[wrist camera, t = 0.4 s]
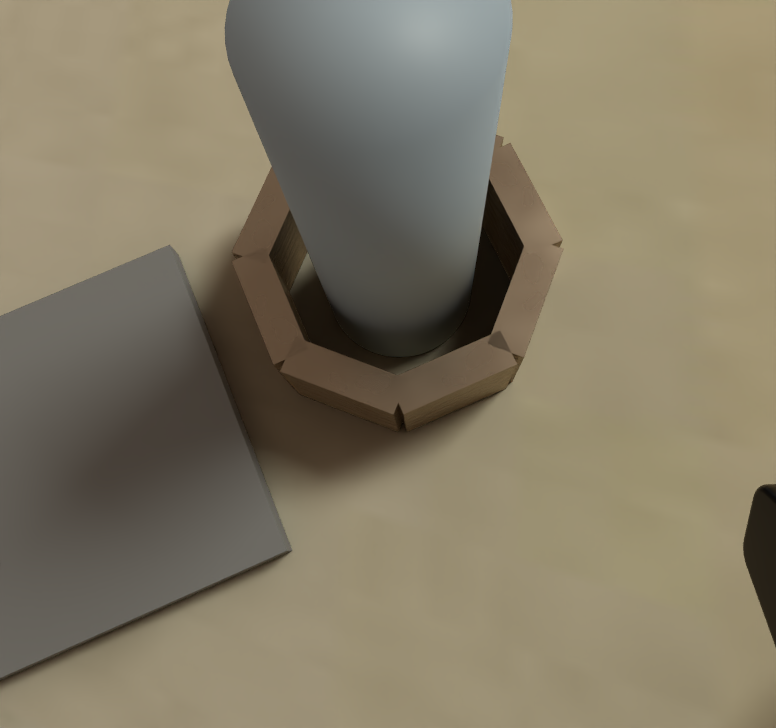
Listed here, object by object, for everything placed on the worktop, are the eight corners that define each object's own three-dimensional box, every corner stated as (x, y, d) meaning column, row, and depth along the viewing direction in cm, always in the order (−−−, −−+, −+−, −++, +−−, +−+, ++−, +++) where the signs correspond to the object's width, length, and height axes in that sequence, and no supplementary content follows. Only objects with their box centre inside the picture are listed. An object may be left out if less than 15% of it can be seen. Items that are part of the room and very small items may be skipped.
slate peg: (494, 322, 22) (563, 79, 11) (362, 379, 22) (285, 195, 11) (435, 202, 23) (439, -137, 12) (308, 256, 23) (185, -35, 12)
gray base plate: (292, 550, 21) (287, 550, 20) (-37, 696, 21) (-55, 702, 20) (178, 254, 24) (169, 244, 23) (-118, 379, 23) (-137, 373, 22)
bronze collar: (584, 353, 22) (608, 324, 19) (326, 467, 22) (309, 455, 19) (466, 127, 24) (471, 69, 21) (228, 227, 24) (199, 183, 21)
